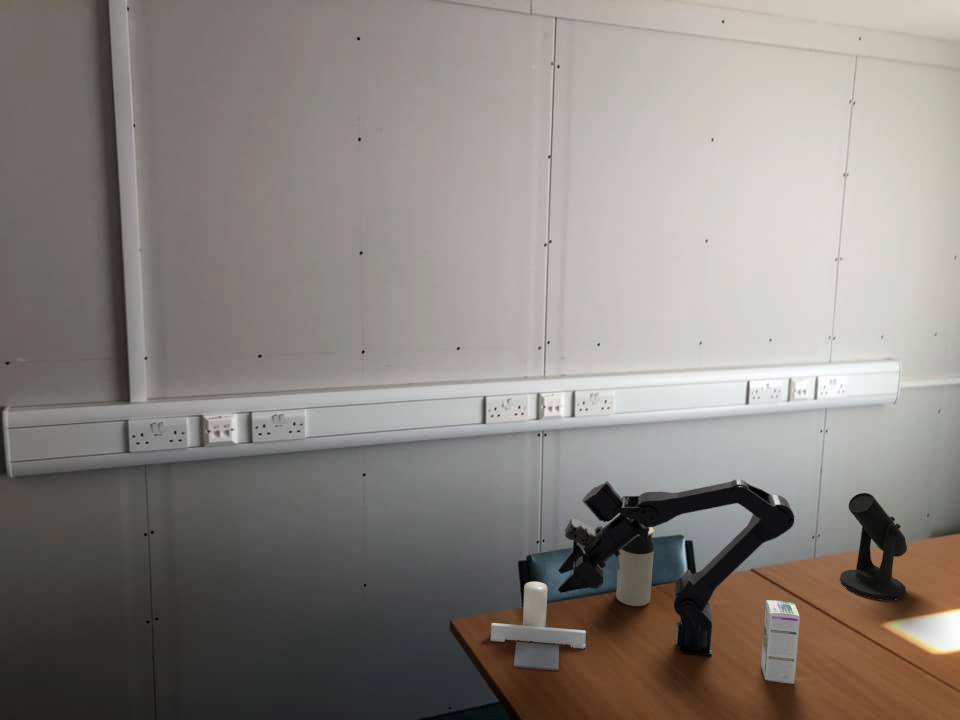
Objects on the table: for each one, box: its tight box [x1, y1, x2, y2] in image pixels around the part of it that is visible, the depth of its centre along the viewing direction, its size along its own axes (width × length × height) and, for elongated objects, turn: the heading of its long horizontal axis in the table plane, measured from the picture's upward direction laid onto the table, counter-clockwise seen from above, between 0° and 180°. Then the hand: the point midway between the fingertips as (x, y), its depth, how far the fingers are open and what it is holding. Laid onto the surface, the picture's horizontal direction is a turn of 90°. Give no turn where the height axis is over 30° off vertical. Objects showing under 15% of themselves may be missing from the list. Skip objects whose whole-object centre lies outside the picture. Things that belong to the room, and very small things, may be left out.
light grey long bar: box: [490, 622, 587, 649], centre depth 164 cm, size 20×3×3 cm, turn 84°
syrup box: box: [760, 599, 801, 685], centre depth 153 cm, size 6×6×14 cm
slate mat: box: [513, 641, 560, 671], centre depth 158 cm, size 9×9×1 cm
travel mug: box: [615, 527, 655, 607], centre depth 183 cm, size 8×8×18 cm
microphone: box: [839, 492, 908, 601], centre depth 193 cm, size 15×17×25 cm
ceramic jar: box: [522, 581, 548, 627], centre depth 168 cm, size 5×5×10 cm
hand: (559, 581), depth 167 cm, fingers open, 9 cm apart
